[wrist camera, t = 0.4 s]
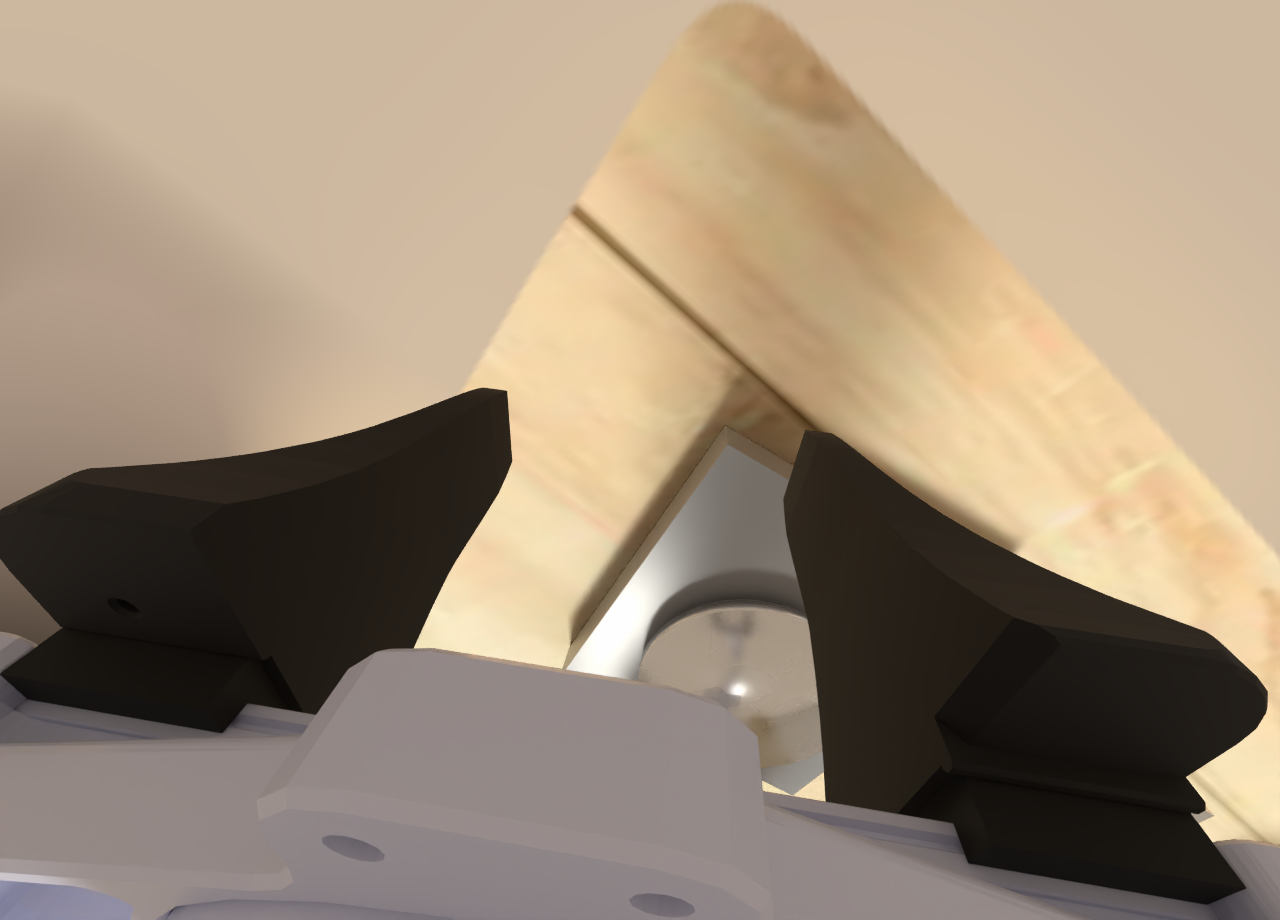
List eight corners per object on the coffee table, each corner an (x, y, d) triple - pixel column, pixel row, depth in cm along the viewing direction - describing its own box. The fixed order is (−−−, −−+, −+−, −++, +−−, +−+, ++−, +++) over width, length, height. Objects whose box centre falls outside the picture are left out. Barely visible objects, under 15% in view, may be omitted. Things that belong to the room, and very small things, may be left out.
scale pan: (769, 779, 27) (771, 793, 26) (603, 696, 26) (600, 709, 25) (905, 667, 23) (912, 681, 22) (712, 561, 21) (713, 572, 21)
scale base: (786, 756, 30) (793, 801, 28) (569, 646, 29) (557, 683, 26) (994, 583, 23) (1028, 623, 21) (725, 425, 22) (728, 447, 19)
